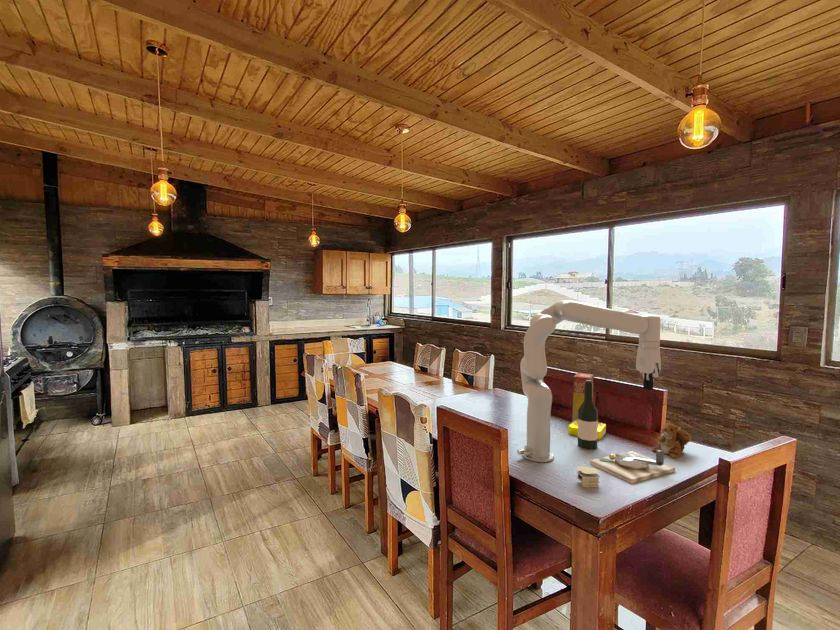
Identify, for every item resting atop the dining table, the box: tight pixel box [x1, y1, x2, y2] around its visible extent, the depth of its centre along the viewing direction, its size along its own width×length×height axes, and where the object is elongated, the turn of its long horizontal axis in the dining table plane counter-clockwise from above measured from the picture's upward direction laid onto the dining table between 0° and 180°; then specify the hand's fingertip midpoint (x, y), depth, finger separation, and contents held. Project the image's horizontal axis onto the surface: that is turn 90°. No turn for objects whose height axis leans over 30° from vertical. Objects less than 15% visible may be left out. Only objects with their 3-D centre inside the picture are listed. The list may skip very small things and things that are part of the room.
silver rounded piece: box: [608, 450, 665, 470], centre depth 160 cm, size 19×12×7 cm, turn 61°
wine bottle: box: [577, 380, 599, 451], centre depth 183 cm, size 8×8×30 cm
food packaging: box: [571, 372, 595, 423], centre depth 221 cm, size 13×9×25 cm
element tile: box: [567, 419, 607, 441], centre depth 202 cm, size 15×15×5 cm
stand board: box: [589, 450, 676, 484], centre depth 161 cm, size 24×19×2 cm
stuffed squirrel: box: [651, 421, 692, 459], centre depth 176 cm, size 10×14×13 cm
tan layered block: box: [575, 466, 601, 489], centre depth 147 cm, size 10×9×6 cm
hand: (648, 389), depth 169 cm, fingers closed
